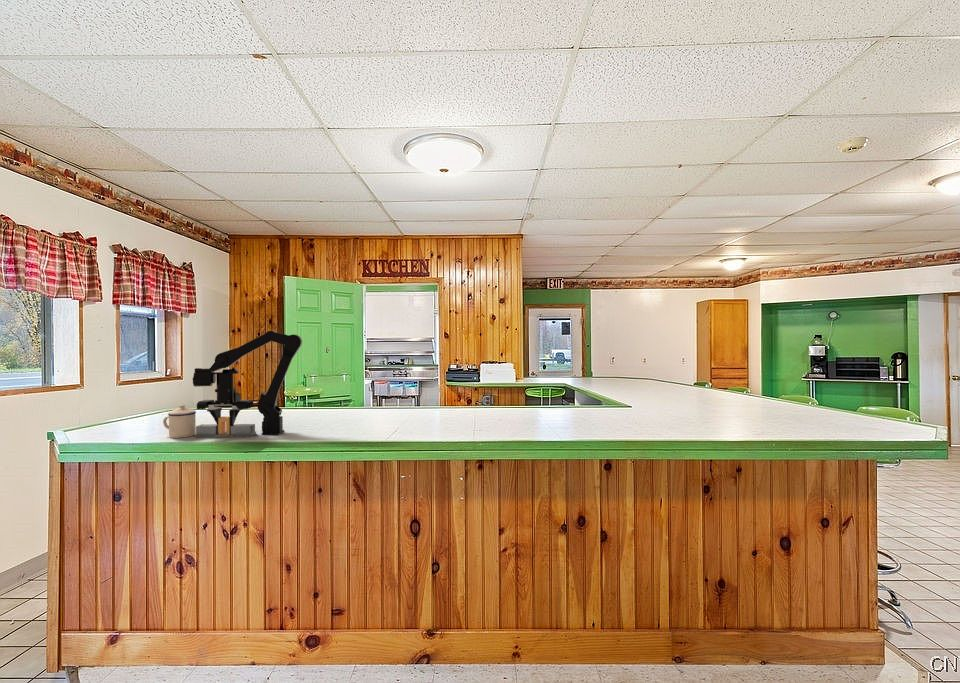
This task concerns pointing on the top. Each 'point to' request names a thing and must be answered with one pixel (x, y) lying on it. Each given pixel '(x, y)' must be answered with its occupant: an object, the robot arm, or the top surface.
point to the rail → (236, 431)
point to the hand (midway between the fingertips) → (225, 427)
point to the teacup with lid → (181, 422)
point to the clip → (224, 425)
